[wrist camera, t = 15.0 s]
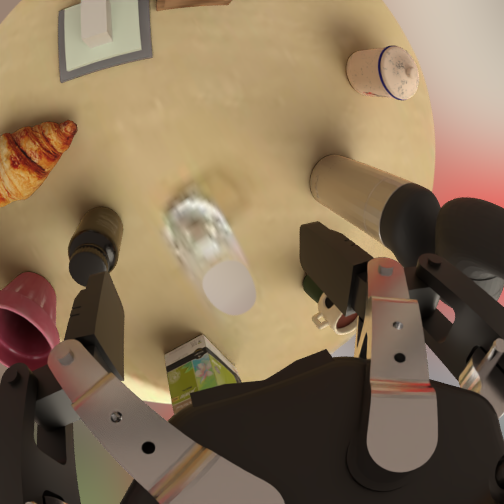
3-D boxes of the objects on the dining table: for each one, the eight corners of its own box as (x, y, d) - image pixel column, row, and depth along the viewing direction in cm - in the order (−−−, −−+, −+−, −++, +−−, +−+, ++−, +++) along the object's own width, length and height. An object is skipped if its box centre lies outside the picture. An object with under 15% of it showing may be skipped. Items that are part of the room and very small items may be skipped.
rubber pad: (148, -12, 22) (148, -14, 22) (152, 57, 29) (152, 56, 28) (59, 12, 19) (58, 11, 19) (61, 82, 25) (60, 82, 25)
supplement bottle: (73, 217, 35) (49, 255, 25) (112, 198, 36) (98, 231, 26) (93, 254, 39) (79, 302, 29) (130, 238, 40) (126, 282, 30)
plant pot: (84, 311, 42) (74, 366, 32) (34, 333, 40) (19, 383, 29) (40, 244, 34) (11, 291, 24) (-9, 275, 32) (-38, 321, 22)
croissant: (-1, 206, 32) (-9, 242, 28) (-36, 170, 23) (-51, 205, 19) (92, 136, 33) (92, 167, 30) (61, 85, 25) (51, 108, 21)
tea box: (162, 354, 52) (172, 415, 40) (202, 332, 53) (222, 393, 40) (200, 385, 61) (216, 438, 48) (237, 367, 61) (258, 419, 49)
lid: (137, -7, 22) (136, -28, 16) (141, 51, 27) (139, 38, 21) (68, 13, 20) (54, -3, 14) (70, 72, 25) (54, 65, 19)
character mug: (333, 253, 54) (374, 289, 43) (340, 277, 58) (376, 314, 47) (286, 280, 53) (320, 324, 43) (296, 304, 57) (328, 347, 47)
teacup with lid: (355, 104, 41) (405, 109, 31) (336, 56, 36) (385, 50, 26) (397, 84, 41) (445, 89, 31) (381, 42, 36) (429, 38, 26)
